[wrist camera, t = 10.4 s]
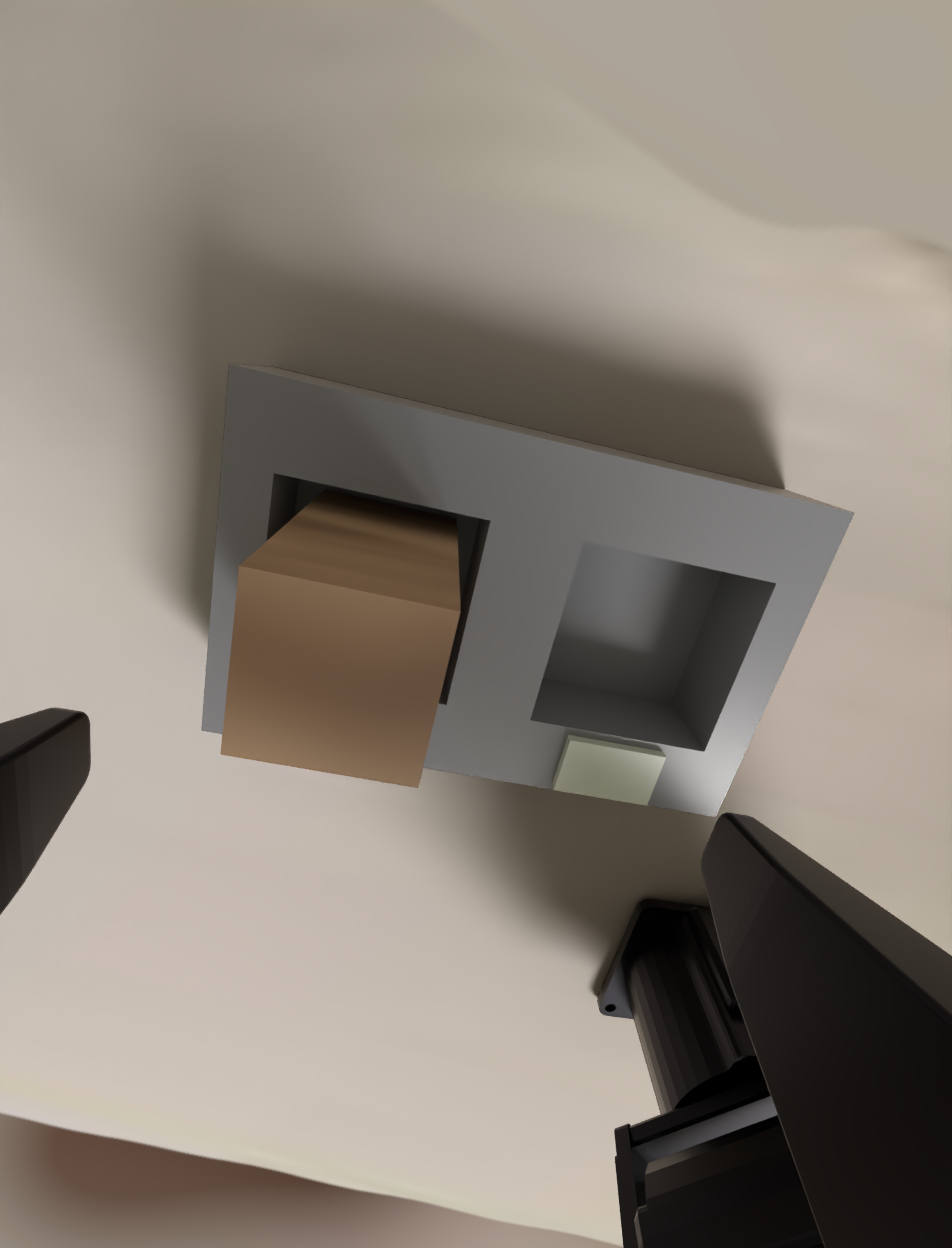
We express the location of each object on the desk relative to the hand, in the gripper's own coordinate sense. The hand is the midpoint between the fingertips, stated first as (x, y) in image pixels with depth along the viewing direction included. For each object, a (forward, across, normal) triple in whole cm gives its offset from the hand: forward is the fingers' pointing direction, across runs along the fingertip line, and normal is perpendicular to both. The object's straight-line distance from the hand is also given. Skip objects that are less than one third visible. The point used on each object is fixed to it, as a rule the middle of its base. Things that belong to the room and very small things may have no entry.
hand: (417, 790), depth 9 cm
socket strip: (+12, -2, 0) cm, 12 cm away
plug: (+11, +2, 0) cm, 11 cm away
